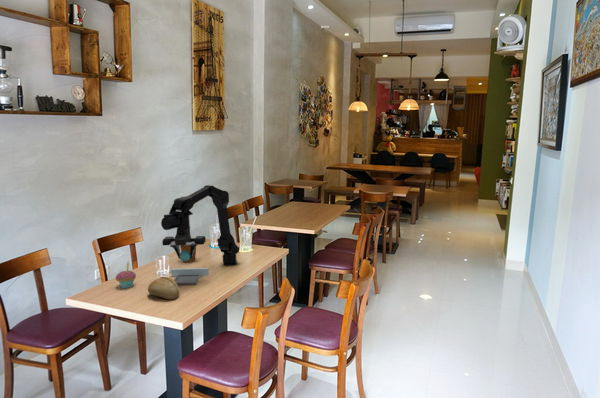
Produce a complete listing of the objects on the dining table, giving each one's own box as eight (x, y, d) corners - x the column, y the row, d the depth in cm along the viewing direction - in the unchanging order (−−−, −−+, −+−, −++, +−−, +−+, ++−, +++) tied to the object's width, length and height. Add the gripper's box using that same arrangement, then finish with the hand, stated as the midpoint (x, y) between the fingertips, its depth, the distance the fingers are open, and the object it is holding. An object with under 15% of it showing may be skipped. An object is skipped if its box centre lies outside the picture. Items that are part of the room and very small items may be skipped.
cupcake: (140, 284, 207) (138, 259, 205) (128, 290, 199) (125, 264, 197) (125, 282, 210) (123, 257, 208) (112, 288, 202) (110, 262, 200)
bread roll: (158, 290, 199) (157, 272, 198) (185, 295, 193) (184, 277, 192) (142, 297, 191) (141, 279, 189) (170, 303, 184) (169, 284, 183)
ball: (192, 259, 211) (191, 249, 210) (189, 262, 206) (189, 252, 205) (181, 259, 211) (180, 249, 210) (178, 262, 206) (178, 252, 205)
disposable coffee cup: (195, 263, 236) (194, 241, 234) (177, 263, 236) (176, 241, 234) (200, 258, 246) (198, 237, 244) (182, 258, 246) (181, 237, 244)
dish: (200, 276, 216) (200, 274, 215) (195, 284, 205) (195, 282, 204) (177, 277, 215) (177, 274, 215) (171, 285, 205) (171, 282, 204)
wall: (209, 274, 218) (208, 267, 218) (208, 275, 217) (208, 268, 216) (172, 275, 218) (171, 268, 217) (171, 276, 217) (170, 269, 216)
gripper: (157, 230, 198) (160, 264, 200) (200, 229, 198) (202, 263, 200) (164, 224, 209) (167, 257, 211) (205, 223, 209) (206, 256, 211)
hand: (185, 258), depth 208 cm, fingers closed on ball, 5 cm apart
